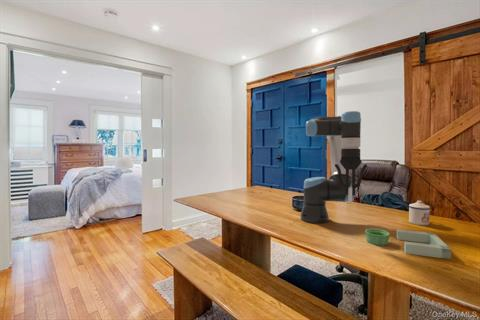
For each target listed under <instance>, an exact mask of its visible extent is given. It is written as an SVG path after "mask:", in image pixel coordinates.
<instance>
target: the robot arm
mask: <svg viewBox="0 0 480 320" xmlns="http://www.w3.org/2000/svg"><path fill="white" fill-rule="evenodd" d="M361 117H362V116H361V112H360V111H357V110H356V111H355V110H353V111H344V112H342V113H341V116H340V115H337V116H319V117H315V118H312V119H309V120H307V121H306V123H305V135H306V136H308V137H326V139H327V140H328V141H329V152H330V155H329V156H330V168H331V175H330V176H329V177H328V179H327V178H326V177H325V176H315V177H309V178H305V180H304V181H303V207H302V209H301V212H300V220H301V221H302V222H305V223H311V224H323V223H328V222H329V221H330V215H329V212H328V210H327V205H326V203H327V202H337V203H338V202H340V203H348V204H353V201H354V199H355V196H356V191H357V188H359V187H361V183H362V180H363V176H364V172H365V171H366V169H367V167H368V165H367V164H365V163H364V162H362V160H361V131H362V130H361V125H362V123H361V121H362V118H361ZM359 166H360V171H359V173H358V178H357V182H356V170H357V169H358V168H359ZM350 170H351V175H350V174H349V172H350Z"/></svg>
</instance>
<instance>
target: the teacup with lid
mask: <svg viewBox="0 0 480 320" xmlns="http://www.w3.org/2000/svg"><path fill="white" fill-rule="evenodd" d="M408 210H409V211H408V223H411V225H416V226H429V225H430V214H431V211H430V210H431V207H430V206H429V205H427V204H425V203H424V202H423V201H422V200H417V201H416V202H414V203H409V205H408Z"/></svg>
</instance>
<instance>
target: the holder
mask: <svg viewBox="0 0 480 320" xmlns="http://www.w3.org/2000/svg"><path fill="white" fill-rule="evenodd" d="M396 239H397V240H398V241H404V242H403V251H404V253H405V254H407V255H408V254H409V255H415V256H424V257H430V258H432V257H433V258H438V259H447V260H451V258H452V249H451V248H450V247H449V245H447V244H446V243H445V242H444V241H443V240H442V239H441V238H440V237H439V236H438V235H437V234H436V233H434V232H427V231H426V232H425V231H414V230H405V229H396Z"/></svg>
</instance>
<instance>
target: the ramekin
mask: <svg viewBox="0 0 480 320" xmlns="http://www.w3.org/2000/svg"><path fill="white" fill-rule="evenodd" d="M364 232H365V238H366V239H365V240H366V242H367V243H369V244H371V245H374V246H375V245H376V246H387V245H389V239H390V234H391V233H390V232H389V231H387V230H384V229H380V228H367V229H365V231H364Z"/></svg>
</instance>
